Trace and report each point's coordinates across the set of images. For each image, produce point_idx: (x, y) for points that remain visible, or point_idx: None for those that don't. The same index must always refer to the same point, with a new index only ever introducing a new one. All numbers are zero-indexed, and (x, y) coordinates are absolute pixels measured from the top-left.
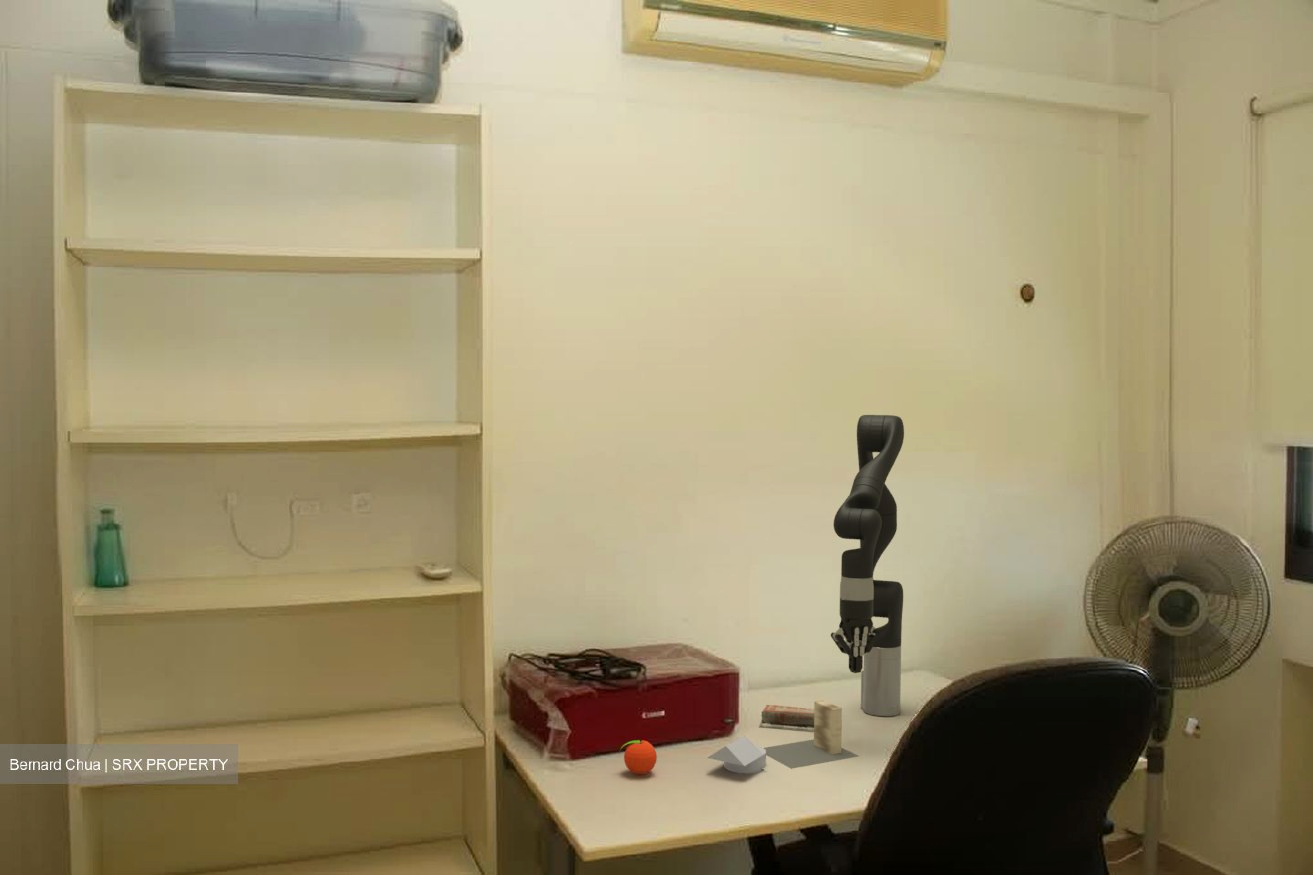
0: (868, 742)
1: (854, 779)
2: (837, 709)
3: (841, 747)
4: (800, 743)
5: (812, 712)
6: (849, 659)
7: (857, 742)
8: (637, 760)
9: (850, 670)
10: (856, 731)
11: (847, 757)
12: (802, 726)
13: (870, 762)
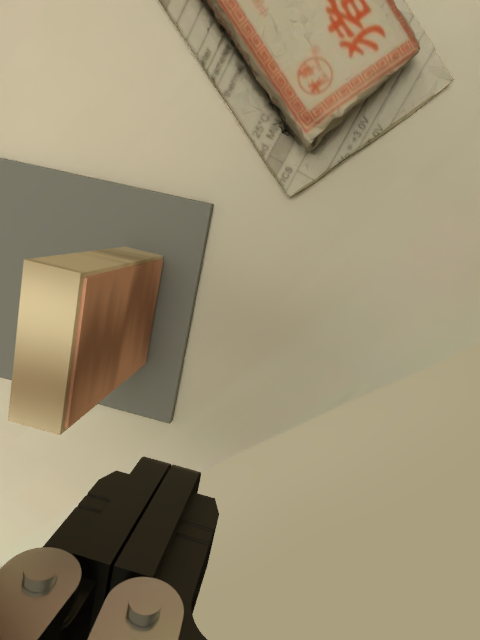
0: (334, 338)
1: (29, 513)
2: (36, 426)
3: (188, 328)
4: (99, 200)
5: (281, 45)
6: (53, 543)
7: (301, 311)
8: None
9: (144, 458)
10: (417, 215)
11: (127, 407)
12: (236, 54)
13: (171, 465)
